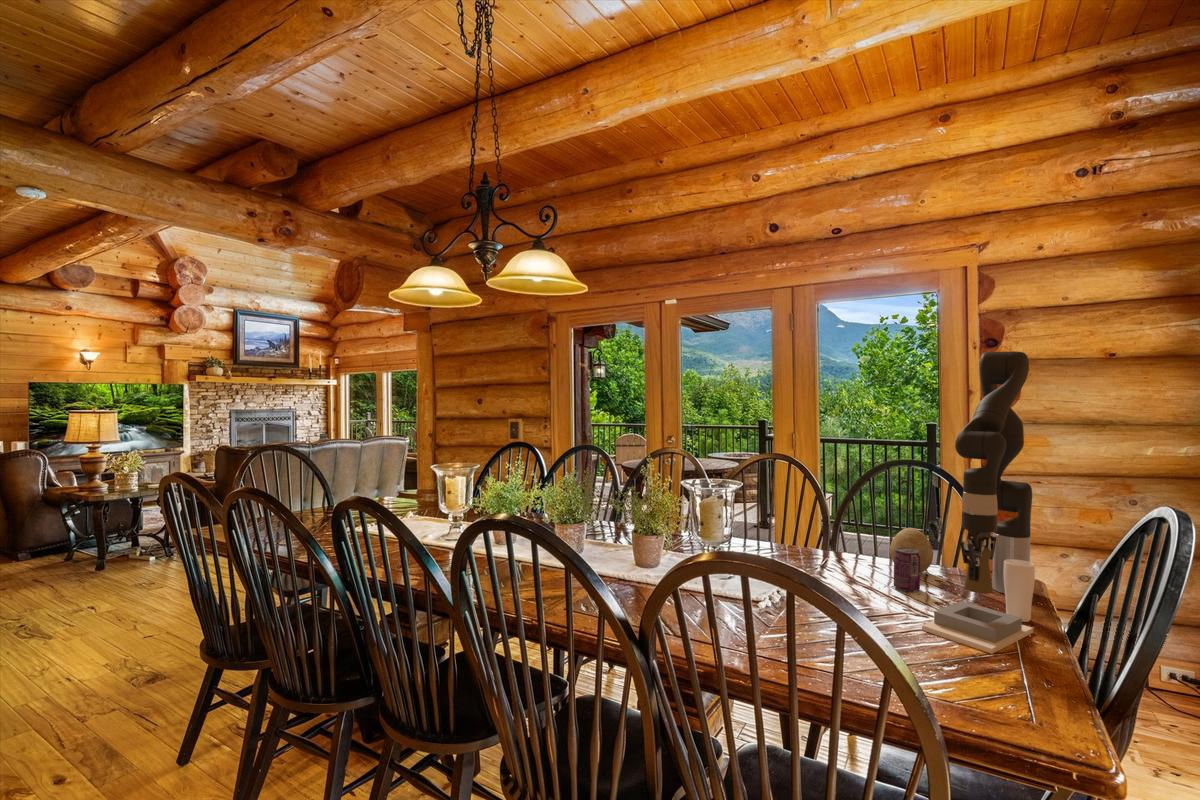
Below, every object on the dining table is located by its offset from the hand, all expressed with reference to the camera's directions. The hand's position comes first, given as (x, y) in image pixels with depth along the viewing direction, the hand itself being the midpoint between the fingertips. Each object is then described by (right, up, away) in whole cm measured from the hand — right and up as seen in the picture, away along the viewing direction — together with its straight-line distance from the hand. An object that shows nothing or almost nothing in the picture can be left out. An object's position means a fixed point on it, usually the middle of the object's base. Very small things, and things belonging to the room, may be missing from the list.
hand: (978, 578), depth 148 cm
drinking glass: (+16, -13, +8) cm, 23 cm away
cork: (0, -3, 0) cm, 3 cm away
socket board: (0, -13, 0) cm, 13 cm away
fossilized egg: (+8, -13, +48) cm, 50 cm away
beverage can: (-2, -13, +32) cm, 34 cm away
